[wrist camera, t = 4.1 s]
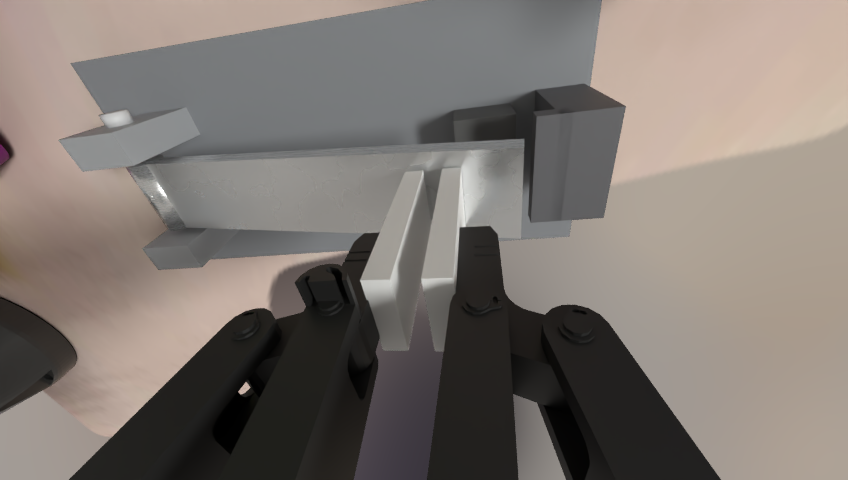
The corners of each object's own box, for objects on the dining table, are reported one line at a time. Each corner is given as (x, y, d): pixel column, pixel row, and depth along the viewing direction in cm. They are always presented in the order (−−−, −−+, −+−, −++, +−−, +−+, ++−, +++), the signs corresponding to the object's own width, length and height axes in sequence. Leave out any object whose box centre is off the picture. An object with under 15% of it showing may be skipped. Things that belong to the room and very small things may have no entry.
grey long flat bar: (185, 215, 21) (161, 230, 20) (148, 156, 19) (117, 168, 17) (521, 221, 15) (520, 244, 14) (524, 135, 13) (523, 151, 11)
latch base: (215, 245, 28) (152, 305, 22) (102, 59, 20) (-43, 77, 14) (561, 221, 23) (595, 288, 18) (590, -26, 16) (667, -50, 10)
